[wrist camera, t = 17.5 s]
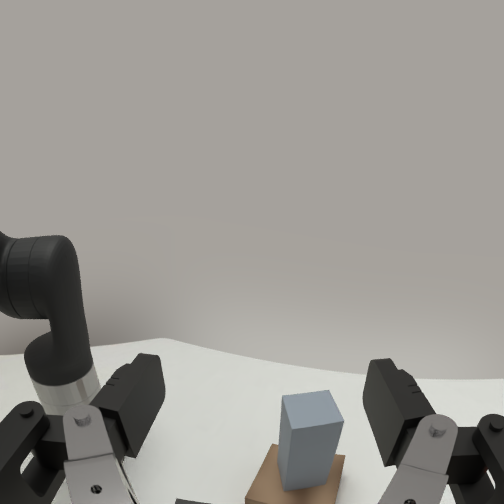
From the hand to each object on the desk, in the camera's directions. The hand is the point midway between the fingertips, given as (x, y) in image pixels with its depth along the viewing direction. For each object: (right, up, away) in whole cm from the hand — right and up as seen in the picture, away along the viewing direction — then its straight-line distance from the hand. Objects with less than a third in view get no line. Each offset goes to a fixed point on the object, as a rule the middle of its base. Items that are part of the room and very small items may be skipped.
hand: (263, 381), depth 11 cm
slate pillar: (+5, -22, +18) cm, 29 cm away
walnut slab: (+5, -27, +19) cm, 33 cm away
